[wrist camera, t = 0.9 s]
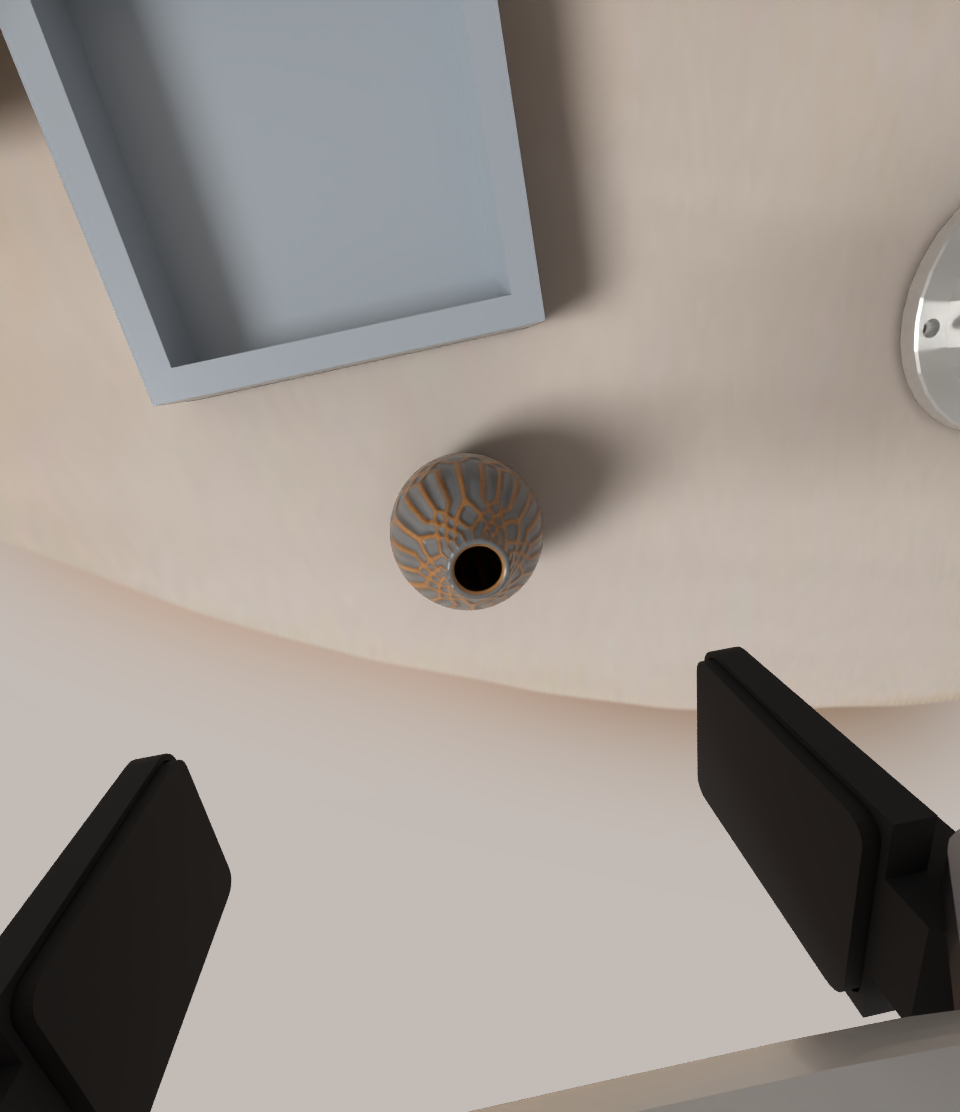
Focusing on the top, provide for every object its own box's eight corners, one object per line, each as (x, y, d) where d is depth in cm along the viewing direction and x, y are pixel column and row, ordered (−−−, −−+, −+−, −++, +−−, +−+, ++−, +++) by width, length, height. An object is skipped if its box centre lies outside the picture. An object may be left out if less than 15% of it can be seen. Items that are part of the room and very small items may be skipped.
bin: (453, -132, 20) (460, -242, 16) (527, 327, 25) (545, 320, 22) (19, -51, 19) (-71, -148, 16) (191, 401, 25) (153, 406, 21)
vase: (550, 520, 29) (605, 580, 20) (450, 597, 29) (463, 685, 21) (471, 415, 26) (496, 435, 18) (365, 502, 27) (342, 559, 19)
